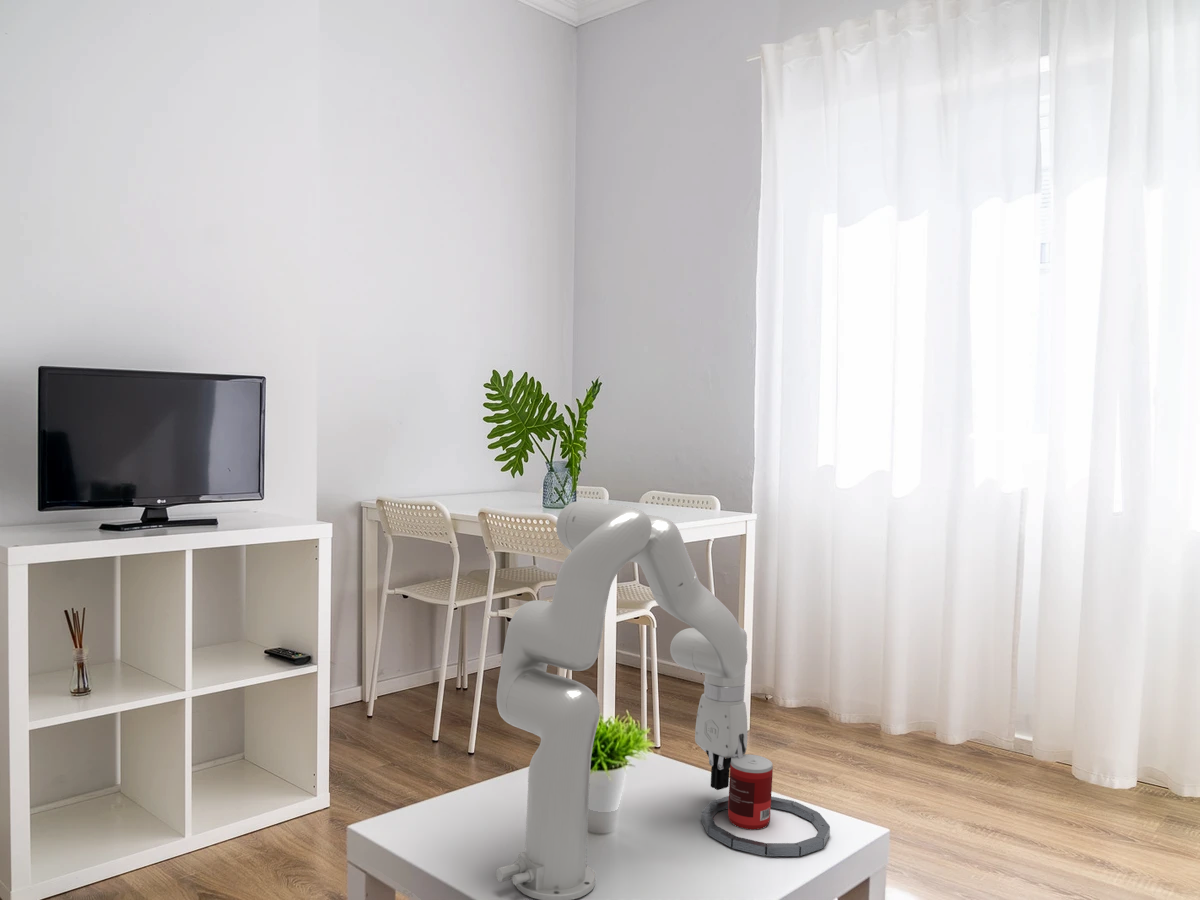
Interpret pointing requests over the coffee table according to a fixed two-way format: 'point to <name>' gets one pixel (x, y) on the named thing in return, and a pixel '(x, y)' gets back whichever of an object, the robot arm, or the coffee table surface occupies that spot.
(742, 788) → the canned food
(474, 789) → the coffee table surface
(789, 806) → the ring
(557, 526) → the robot arm
